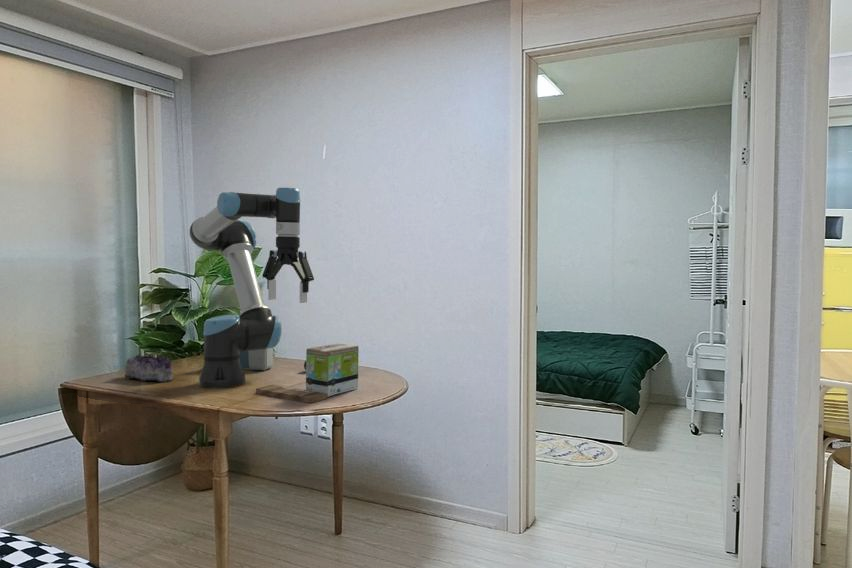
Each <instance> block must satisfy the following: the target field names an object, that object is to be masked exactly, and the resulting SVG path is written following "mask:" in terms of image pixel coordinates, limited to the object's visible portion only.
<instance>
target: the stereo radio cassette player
mask: <svg viewBox="0 0 852 568" xmlns="http://www.w3.org/2000/svg"><path fill="white" fill-rule="evenodd" d="M240 363H241V365H242V368H243V370H252V371H253V370H254V371H255V370H256V371H264V372H265V371H266V370H268V369H271V368H272V367H273V366H274V347H273V348H268V349H260V350H249V351H240Z"/></svg>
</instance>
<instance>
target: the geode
mask: <svg viewBox="0 0 852 568" xmlns="http://www.w3.org/2000/svg"><path fill="white" fill-rule="evenodd" d="M124 377H125V378H132V379H136V380H139V381H141V382H155V381H156V382H158V383H162V384H163V383H170V382H171V383H172V382H173V379H174V371H173V364H172V360H171V359H169V357H167V356H166V357H165V356H163V355H161V356H157V357H154V356H152V355H150V354H149V355H147V354H144V355H141V354H137V355H136V356H134V357H130V358H128V359H127V360H126V365H125V368H124Z"/></svg>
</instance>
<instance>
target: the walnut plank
mask: <svg viewBox="0 0 852 568" xmlns="http://www.w3.org/2000/svg"><path fill="white" fill-rule="evenodd" d="M258 393H259V394H258ZM255 394H258V395H263V394H264V395H265V396H269V397H274V396H275V398H280V397H281V398H280V399H285V398H286V400H291V401H297V402H303V403H306V404H307V403H308V404H314V403H316V402H319V401H323V400H325V399H327V398H328V397H327V394H326V393H320V392H314V391H308V390H306V389H303V388H295V387H291V386H284V385H283V386H282V385H279V384H270V385H264V386H262V387H258V388H255ZM264 395H263V396H264Z"/></svg>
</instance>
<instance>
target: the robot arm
mask: <svg viewBox="0 0 852 568" xmlns="http://www.w3.org/2000/svg"><path fill="white" fill-rule="evenodd" d="M244 217H246V218H249V217H250V218H267V219H275V233H276V235H277V236H276V237H275V247H276V248H277V250H276V249H271V250H269V256H268V259H267V262H266V264H265V267H264V270H263V272H262V278H265V279H266V280H267V283H266V284H267V286H266V287H267V290H268V291H267V292H268V294H267V295H268V300H269V301H270V300H271V301H273V300H277V279H276V276H277V275H278V273H279V272H280V270H281V269H282V267H283V266H284V265H287V266H289V265H290V267H292V268H293V270H294V271H295V273H296V274H297V276H298V278H299V279H300V282H299V304H304V303H308V293H309V290H310V287H309V284H310V282H312V281H314V280H315V277H314V275H313V271H312V269H311V265H310V263H309V260H308V258H307V257H308V256H307V251H303V250H302V251H301V250H300V251H299V248H300V245H301V244H300V239H301V238H300V237H299V235H300V234H301V232H300V231H301V229H300V228H301V226H300V225H301V224H300V221H301V195H300V189H298V188H295V187H278V188H277V189H276V192H275V194H274V195H273V194H261V193H248V192H247V193H243V192H234V191H228V192H227V191H225V192H223V191H222V192H221V193H220V194H219V195H218V198H217V202H216V206H215V207H214V208H213V209H212V210H210V211H209V212H208V213H207V214H206V215H204V216H201V217H198V218H196V219H195V220H194V221H193V222H191V225H190V226H189V237H190V238H191V239H190V240H191V241H192V242H193V244H195V245H196V246H197V247H198V248H200V249H202V250H204V251H205V250H206V251H209V252H210V251H211V252H212V251H213V252H214V251H215V252H216V251H218V252H221V256H222V257H223V259H225V260H227V262H228V265H229V270H230V273H231V277H232V281H233V285H234V289H235V292H236V296H237V300H238V305H239V307H240V312H241V313H240V314H239V315H238V314H223V315H218V316H213V317H210V318H208V319H206V320H205V321H204V324H203V332H202V334H203V356H204V357H203V361H204V362H203V365H202V368H201V372H200V376H199V378H198V386H200V387H202V388H211V389H221V388H222V389H223V388H231V387H236V386H241V385H243V384H246V374H245V373H244V369H243V368H242V365H241V363H240V351H249V350H260V349H268V348H273V349H274V348H275V347H277V345H278V344H279V342H280V341H281V337H282V322H281V318H280V317H279V316H277V315H273V313H272V310H271V308H269V306H266V305H265V304H266V303H265V301H264V298H263V293H262V290H261V287H260V283H259V279H258V276H257V273H256V269H255V265H254V262H253V261H254V260H253V258H252V254H253V253H254V249H255V247H256V246H257V239H256V238H257V234H256V231H255V229H254V227H253V225H252V224H251V223H249V222H247V221H245V220H243V221H241V220H239V219H241V218H244Z"/></svg>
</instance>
